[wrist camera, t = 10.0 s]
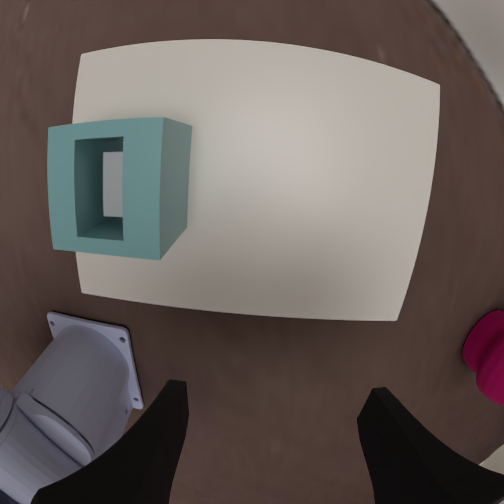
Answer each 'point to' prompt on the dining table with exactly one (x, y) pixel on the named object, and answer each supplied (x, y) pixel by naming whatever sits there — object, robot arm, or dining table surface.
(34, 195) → the dining table surface
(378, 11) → the dining table surface
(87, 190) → the teal square tube
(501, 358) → the pepper mill
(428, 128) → the key plate
